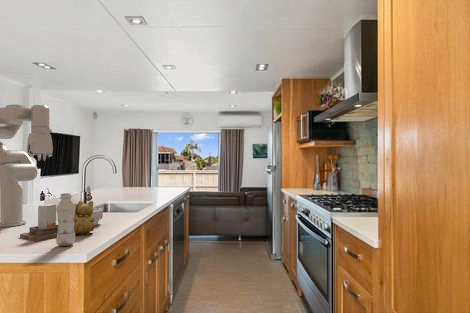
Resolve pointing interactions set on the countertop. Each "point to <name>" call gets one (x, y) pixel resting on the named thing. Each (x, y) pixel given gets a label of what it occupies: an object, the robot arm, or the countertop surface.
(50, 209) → the skincare box
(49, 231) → the serum holder
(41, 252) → the countertop surface
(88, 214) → the decorative figurine
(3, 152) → the robot arm
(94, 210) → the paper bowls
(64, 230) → the plastic bottle
